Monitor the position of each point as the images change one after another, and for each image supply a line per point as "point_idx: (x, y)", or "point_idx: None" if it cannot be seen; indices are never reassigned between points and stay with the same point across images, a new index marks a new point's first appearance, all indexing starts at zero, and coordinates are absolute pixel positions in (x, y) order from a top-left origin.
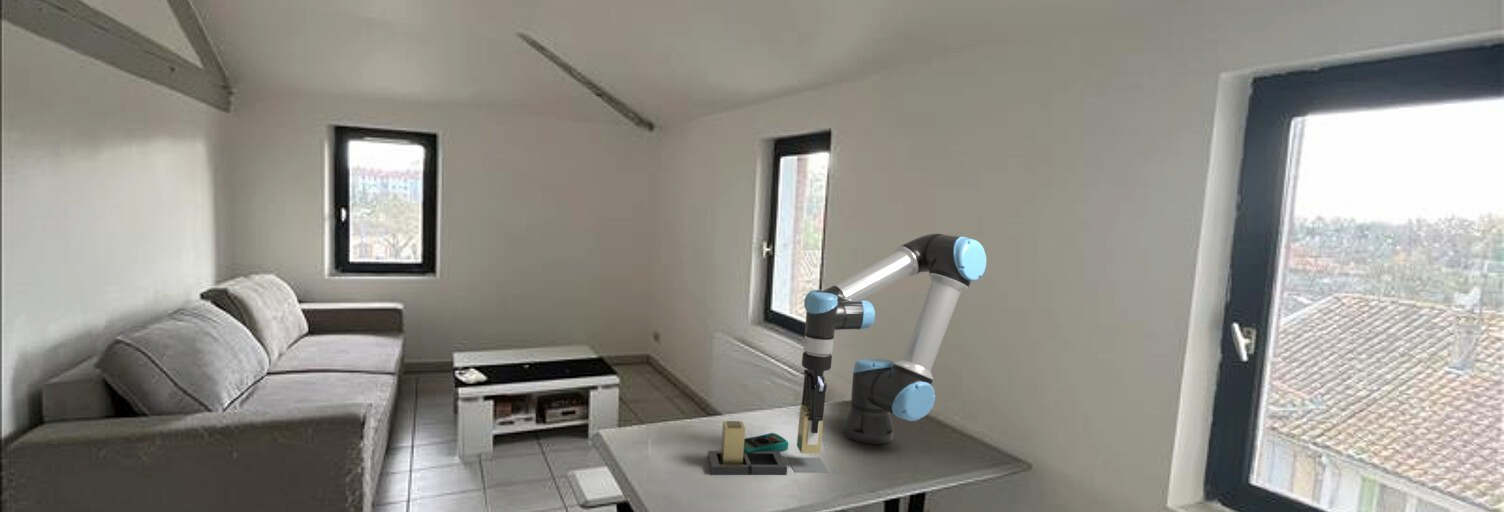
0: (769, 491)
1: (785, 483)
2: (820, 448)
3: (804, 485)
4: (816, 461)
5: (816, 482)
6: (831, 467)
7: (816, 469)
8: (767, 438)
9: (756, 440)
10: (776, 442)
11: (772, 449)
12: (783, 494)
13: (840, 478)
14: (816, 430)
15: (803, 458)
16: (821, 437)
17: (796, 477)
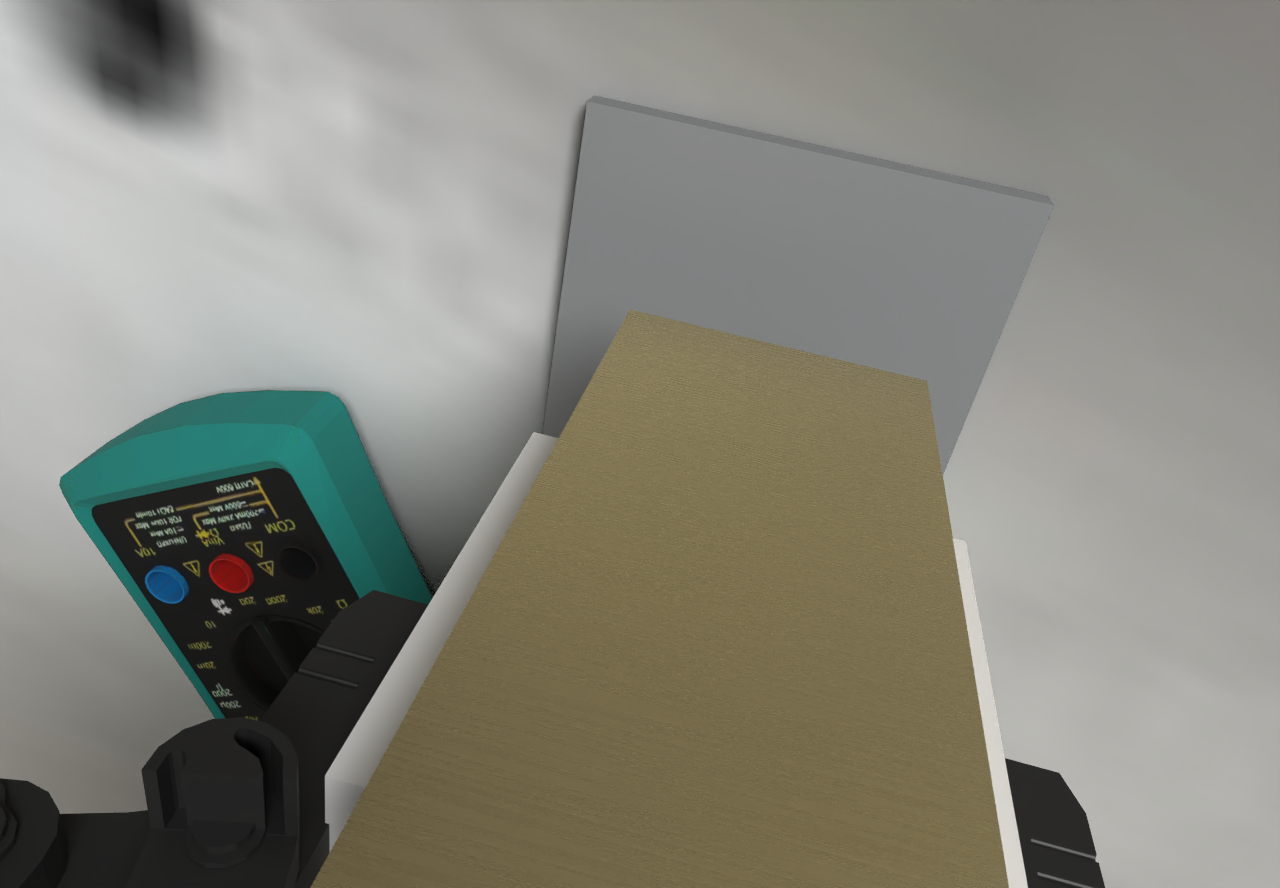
0: (1138, 873)
1: (1056, 715)
2: (931, 418)
3: (1183, 593)
4: (698, 209)
5: (1183, 450)
6: (862, 41)
7: (923, 327)
8: (220, 601)
9: (264, 693)
10: (321, 566)
11: (413, 596)
12: (1251, 819)
13: (1239, 92)
14: (1076, 855)
15: (586, 327)
16: (947, 530)
17: (975, 575)
